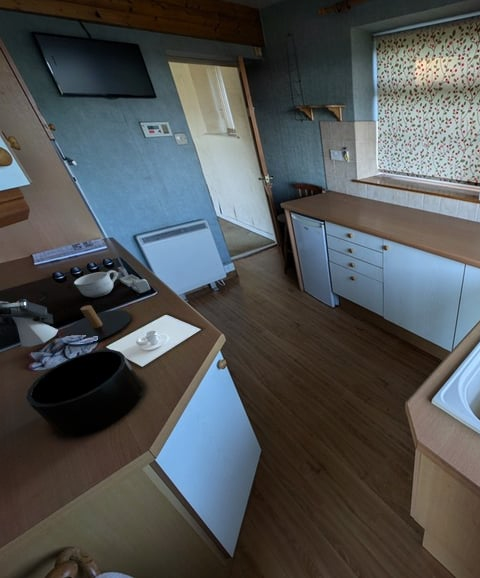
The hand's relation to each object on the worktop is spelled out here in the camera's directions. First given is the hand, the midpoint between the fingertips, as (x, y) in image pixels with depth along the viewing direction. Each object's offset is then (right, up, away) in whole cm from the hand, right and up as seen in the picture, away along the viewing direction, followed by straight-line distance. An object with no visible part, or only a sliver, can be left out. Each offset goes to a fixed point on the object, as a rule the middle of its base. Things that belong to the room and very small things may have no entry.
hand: (39, 321), depth 84 cm
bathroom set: (-15, +12, +48) cm, 52 cm away
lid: (-3, -4, +21) cm, 22 cm away
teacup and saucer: (+20, -8, +17) cm, 28 cm away
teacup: (-21, +8, +41) cm, 47 cm away
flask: (+2, -5, -1) cm, 5 cm away
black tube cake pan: (+23, -22, -6) cm, 32 cm away
